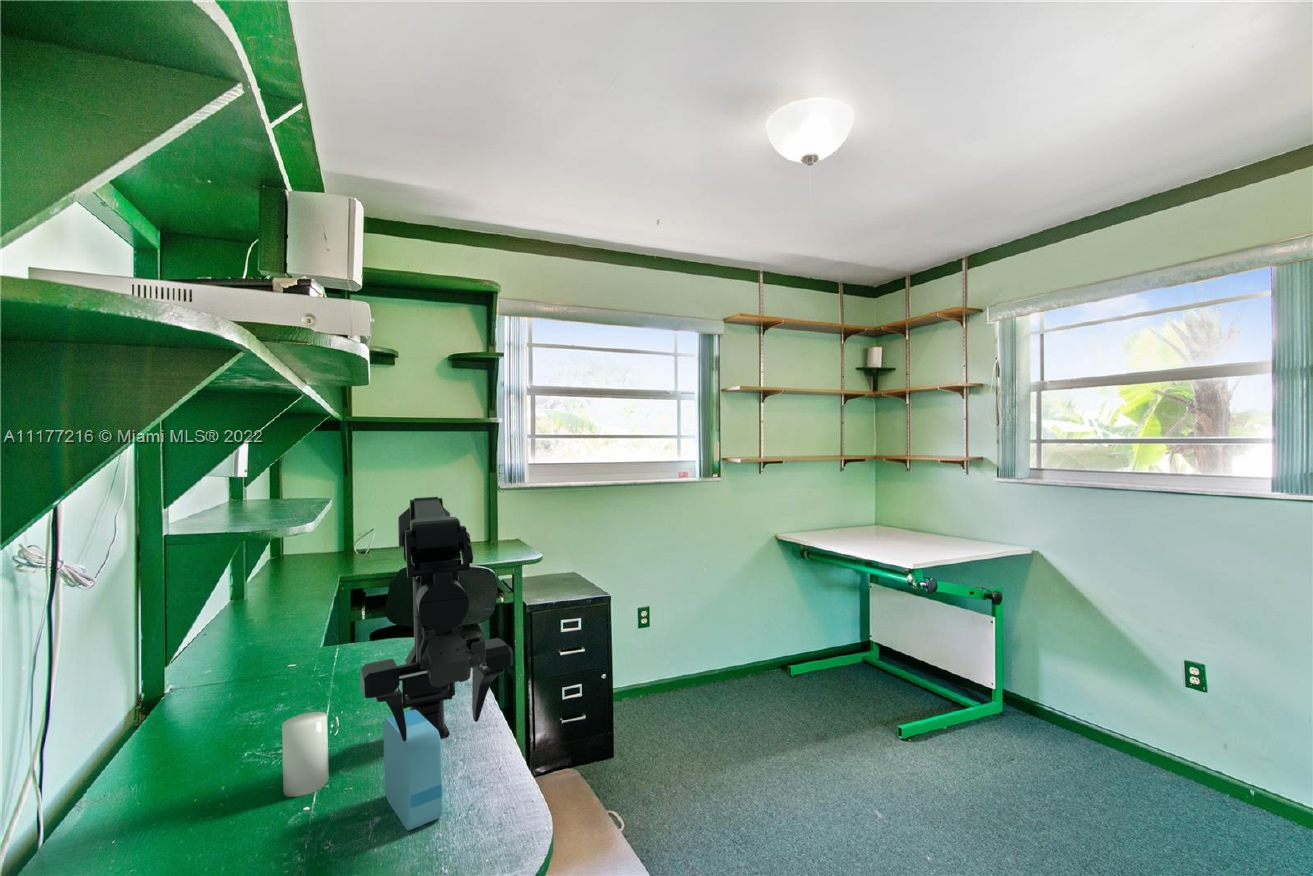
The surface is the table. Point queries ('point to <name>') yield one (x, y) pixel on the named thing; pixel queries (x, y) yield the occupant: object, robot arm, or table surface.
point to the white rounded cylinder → (305, 754)
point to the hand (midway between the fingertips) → (441, 730)
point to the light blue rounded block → (413, 770)
